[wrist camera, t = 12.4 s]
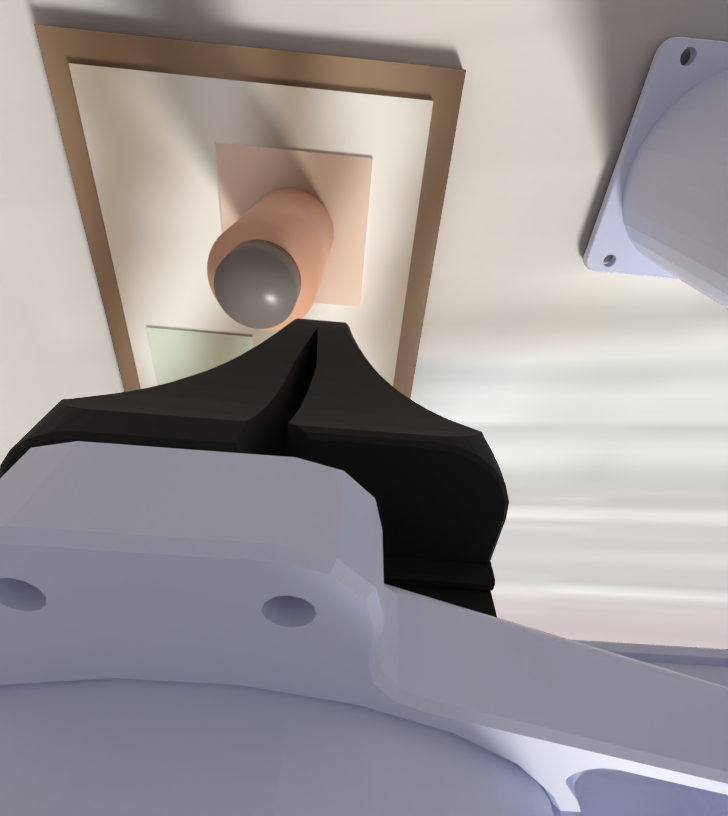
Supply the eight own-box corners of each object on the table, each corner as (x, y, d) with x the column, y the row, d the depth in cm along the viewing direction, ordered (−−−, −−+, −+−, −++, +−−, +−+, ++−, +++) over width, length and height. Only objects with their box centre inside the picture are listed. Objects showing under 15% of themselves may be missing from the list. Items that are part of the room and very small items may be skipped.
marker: (333, 189, 18) (312, 233, 12) (333, 274, 20) (314, 346, 14) (248, 184, 18) (186, 226, 12) (255, 270, 20) (205, 340, 14)
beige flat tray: (463, 70, 17) (467, 69, 16) (393, 489, 28) (393, 499, 28) (44, 26, 16) (28, 23, 16) (149, 468, 28) (143, 478, 27)
